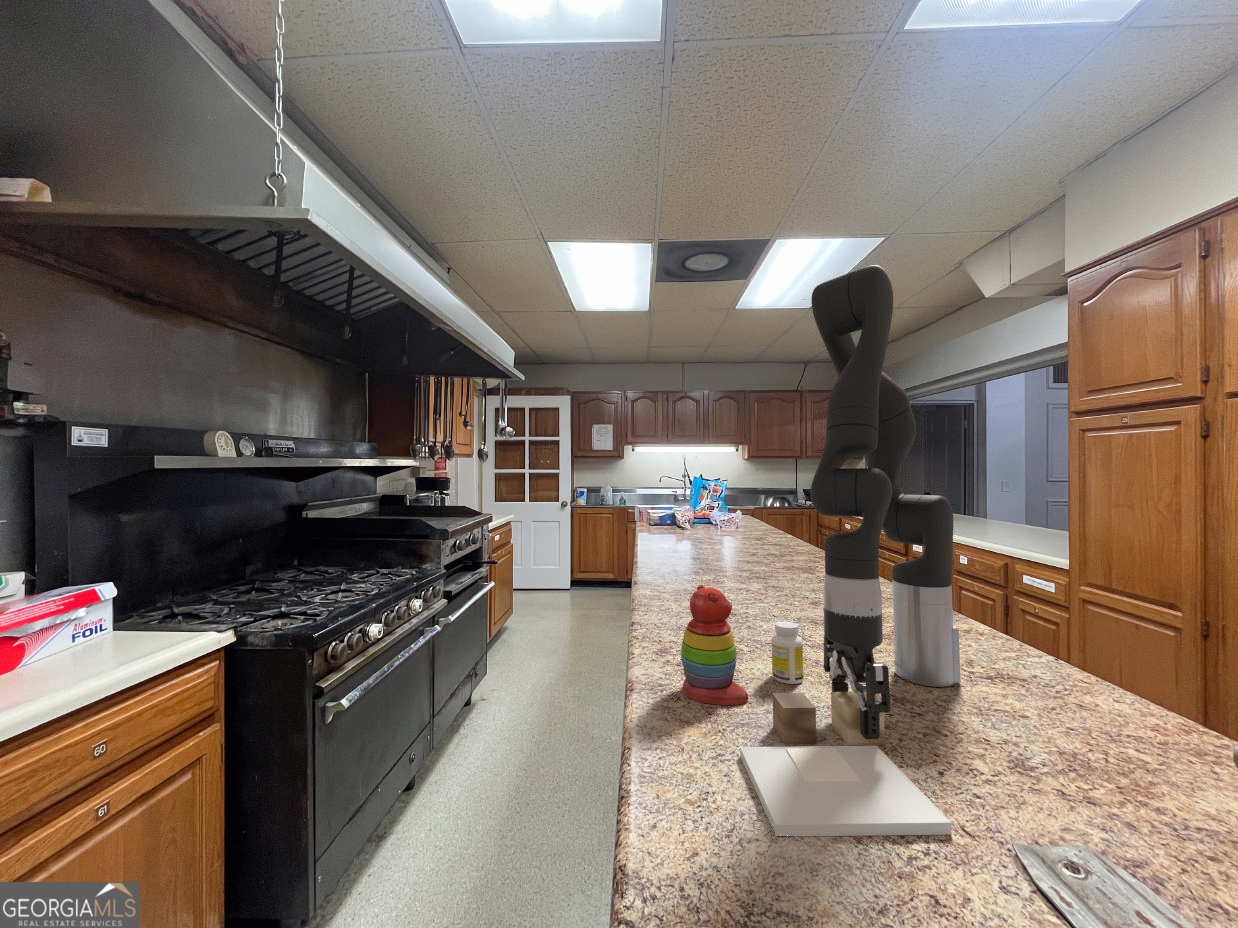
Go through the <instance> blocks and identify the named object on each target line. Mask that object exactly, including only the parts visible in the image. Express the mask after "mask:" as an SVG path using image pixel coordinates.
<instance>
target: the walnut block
mask: <svg viewBox="0 0 1238 928" xmlns="http://www.w3.org/2000/svg"><path fill="white" fill-rule="evenodd" d="M772 727H773V729H774V732H775V733H776V735H777V736H778V737H779V739H780V741H781V743H783V745H817V707H816V706H815V705H814V704H813V703H812V701H811V700H810V699H809V698H808V697H807V696H806V695H805V693H803V692H788V693H787V692H781V693H779V692H774V693H772Z"/></svg>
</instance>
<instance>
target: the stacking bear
mask: <svg viewBox="0 0 1238 928" xmlns="http://www.w3.org/2000/svg"><path fill="white" fill-rule="evenodd" d="M689 610H690V613H691V614H690V615H691V616H692V619H691V620H689V622H688V624H687V626H686V627H685V629H684V632H683V639H682V640H681V647H680V648H681V649H680V650H681V651H680V652H681V653H680V656H681V663H682V667H683V673H684V676H685V677H684V678H685V679H684V681H683V685H682V691H683V694H684V695H685V696H687V697H688V698H689V699H691V700H693V701H696V702H699V703H702V704H703V703H704V704H709V705H710V704H711V705H719V706H735V705H743V704H747V702H748V700H749V693H748V692H747V691H746V689H745V688H743V687H742V686H741V685H739V684H738V683H737V682H735V681H734V677H735V670H736V667H737V660H738V659H737V656H738V655H737V654H738V653H737V648H736V647H737V645H736V643H735V639H734V635H733V634H734V633H733V631H732V627H731V626H730V623H728V622H727V619H728V618H729V617H730V615H731V613H732V610H733V604H732V603H731V602H730V601H729V600H728V599H727V598H726V596H725V594H724V593H723V592H722V591H720V589H717V588H715V587H704V585H703V584H700V585H698V586H697V588H696V591H694V592H693V594H692V595H691V597H690V599H689Z"/></svg>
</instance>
